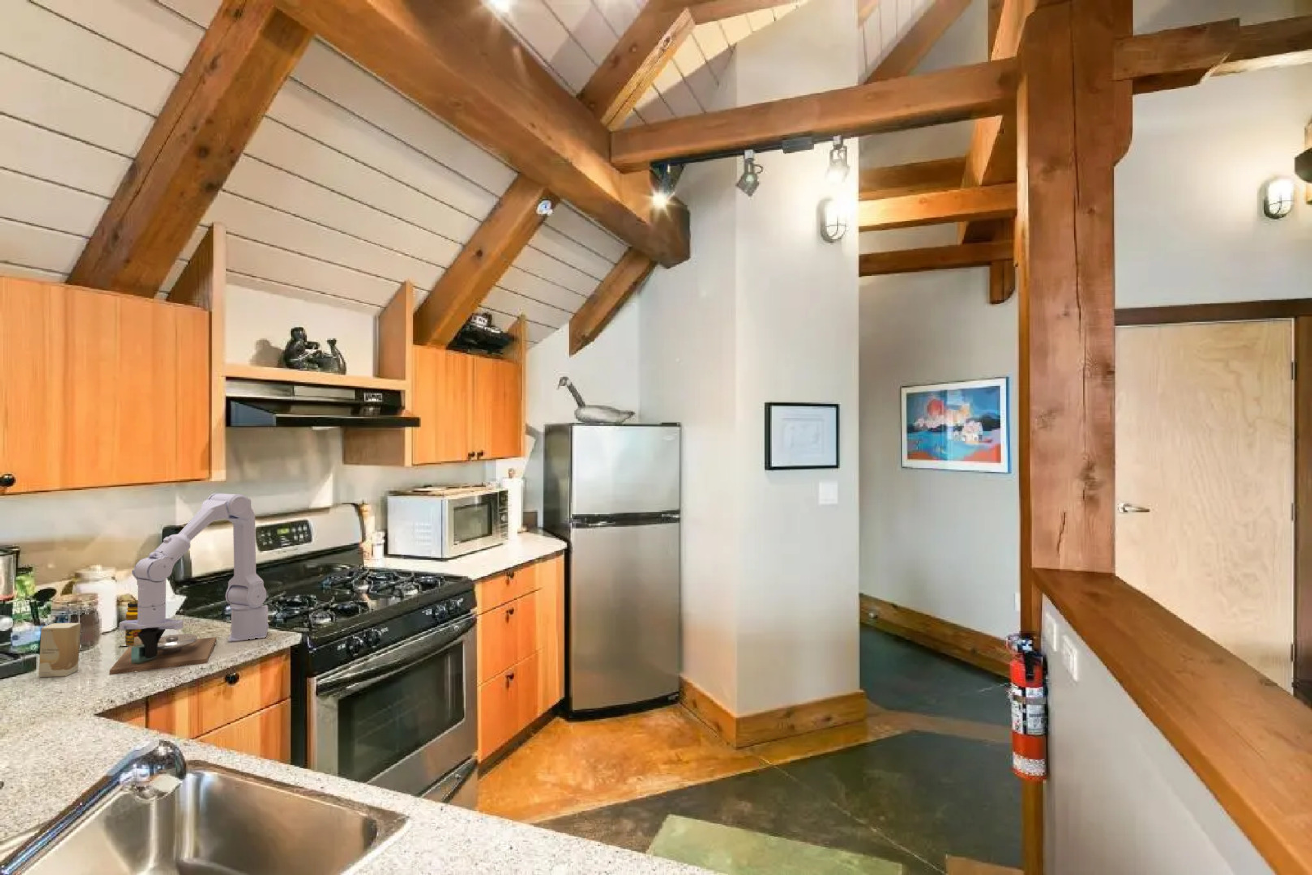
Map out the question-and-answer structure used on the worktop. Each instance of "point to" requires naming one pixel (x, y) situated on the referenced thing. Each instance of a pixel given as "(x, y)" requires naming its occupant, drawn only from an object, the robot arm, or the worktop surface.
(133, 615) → the condiment
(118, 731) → the worktop surface
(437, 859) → the worktop surface
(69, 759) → the worktop surface
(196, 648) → the walnut base
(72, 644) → the skincare box
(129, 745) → the worktop surface
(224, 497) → the robot arm
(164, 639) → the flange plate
